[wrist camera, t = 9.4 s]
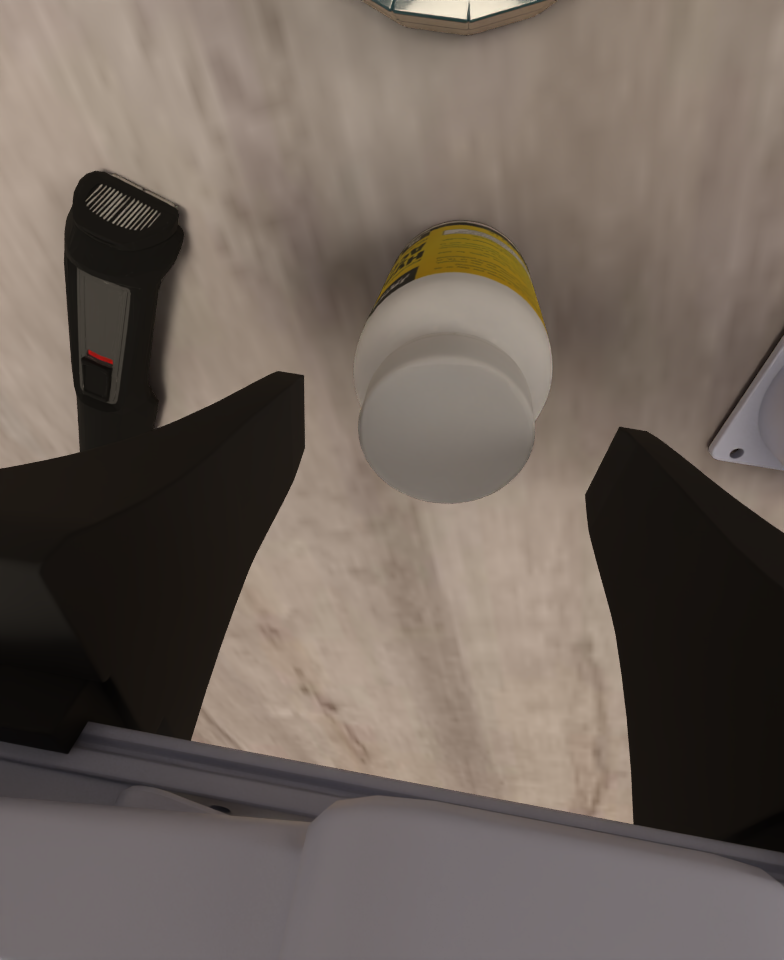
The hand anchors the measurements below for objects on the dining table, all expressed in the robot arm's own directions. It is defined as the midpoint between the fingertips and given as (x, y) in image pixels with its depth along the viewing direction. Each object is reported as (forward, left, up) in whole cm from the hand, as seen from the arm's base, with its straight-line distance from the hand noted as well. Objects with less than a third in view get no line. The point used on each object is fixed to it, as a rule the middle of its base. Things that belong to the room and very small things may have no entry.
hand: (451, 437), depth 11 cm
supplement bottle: (0, 0, -10) cm, 10 cm away
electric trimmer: (+14, +5, -10) cm, 18 cm away
